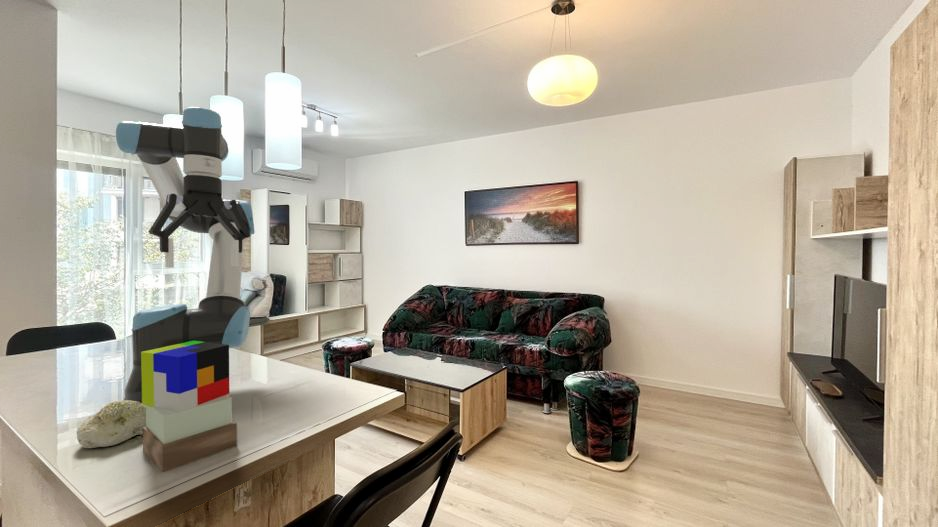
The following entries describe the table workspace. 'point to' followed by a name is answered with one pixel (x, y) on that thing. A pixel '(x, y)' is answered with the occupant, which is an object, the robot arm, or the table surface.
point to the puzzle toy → (184, 375)
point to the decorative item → (113, 424)
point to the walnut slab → (188, 446)
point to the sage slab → (189, 419)
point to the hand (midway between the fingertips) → (204, 266)
